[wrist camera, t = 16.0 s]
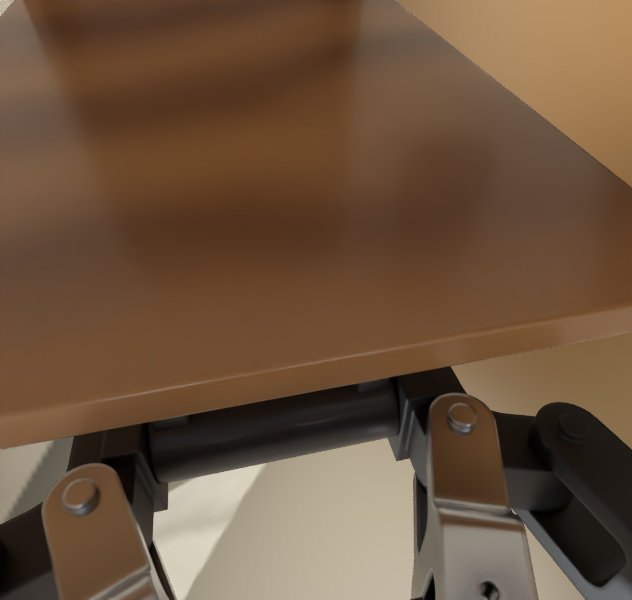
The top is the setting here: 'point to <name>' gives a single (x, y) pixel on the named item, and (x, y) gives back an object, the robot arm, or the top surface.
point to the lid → (275, 224)
